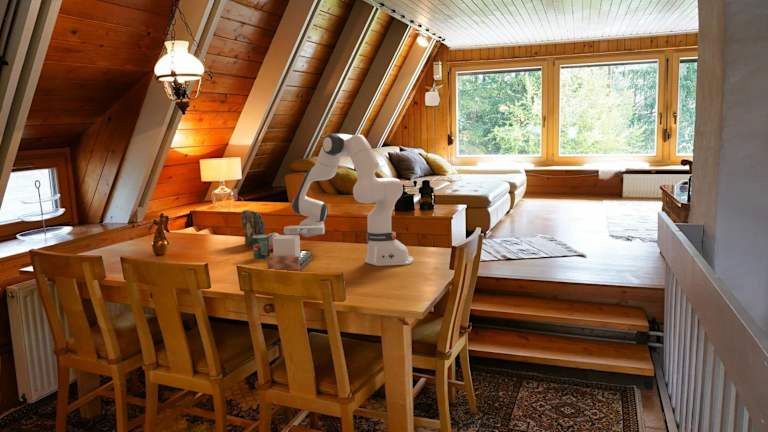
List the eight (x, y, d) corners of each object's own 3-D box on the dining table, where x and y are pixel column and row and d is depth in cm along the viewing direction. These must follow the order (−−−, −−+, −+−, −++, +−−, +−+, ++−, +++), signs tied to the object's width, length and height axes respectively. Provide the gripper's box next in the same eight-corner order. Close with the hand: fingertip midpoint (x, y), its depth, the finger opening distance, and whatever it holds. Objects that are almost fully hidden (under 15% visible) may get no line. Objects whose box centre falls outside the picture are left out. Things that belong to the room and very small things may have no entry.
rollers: (310, 257, 280) (310, 251, 279) (298, 267, 259) (298, 261, 259) (286, 257, 281) (286, 250, 281) (272, 267, 261) (271, 261, 260)
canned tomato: (273, 256, 290) (272, 235, 288) (263, 260, 283) (262, 238, 281) (260, 255, 293) (259, 234, 292) (250, 259, 286) (249, 237, 285)
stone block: (270, 246, 316) (268, 209, 313) (257, 249, 309) (254, 212, 306) (251, 242, 328) (248, 207, 325) (237, 245, 321) (234, 209, 318)
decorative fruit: (279, 251, 302) (278, 232, 300) (264, 251, 302) (262, 232, 301) (284, 247, 311) (283, 229, 309) (269, 247, 312) (268, 229, 310)
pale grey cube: (300, 256, 266) (299, 235, 265) (295, 260, 258) (294, 238, 257) (279, 256, 268) (278, 235, 266) (273, 260, 260) (272, 238, 258)
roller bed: (313, 259, 280) (312, 245, 279) (297, 273, 255) (297, 258, 254) (285, 259, 282) (284, 245, 281) (267, 273, 257) (266, 257, 256)
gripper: (287, 222, 298) (279, 226, 284) (326, 221, 295) (320, 225, 281) (288, 234, 299) (280, 239, 285) (327, 233, 296) (320, 238, 282)
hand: (300, 232), depth 283 cm, fingers closed
